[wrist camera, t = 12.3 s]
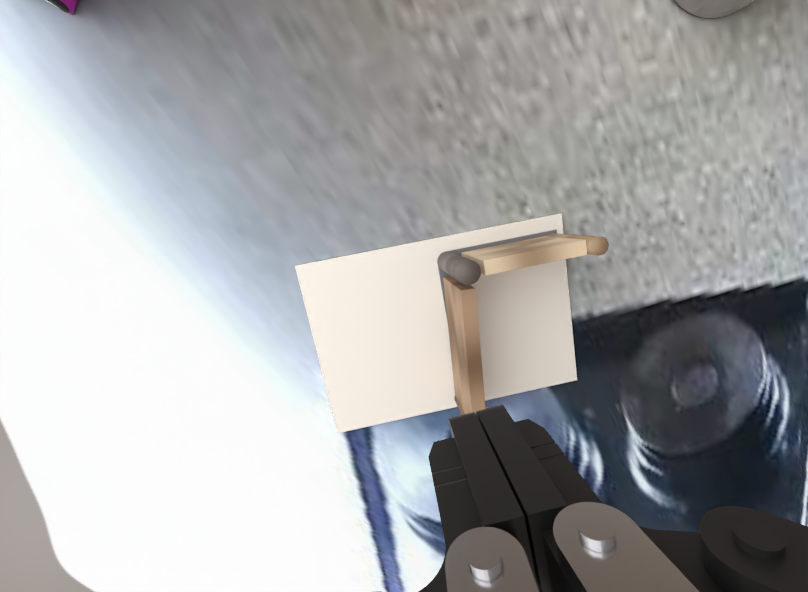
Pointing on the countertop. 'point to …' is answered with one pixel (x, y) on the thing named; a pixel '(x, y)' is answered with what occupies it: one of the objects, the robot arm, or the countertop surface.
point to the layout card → (433, 325)
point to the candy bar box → (64, 5)
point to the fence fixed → (519, 255)
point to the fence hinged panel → (464, 345)
